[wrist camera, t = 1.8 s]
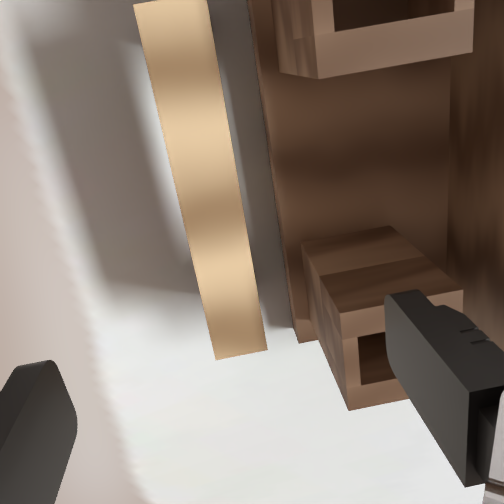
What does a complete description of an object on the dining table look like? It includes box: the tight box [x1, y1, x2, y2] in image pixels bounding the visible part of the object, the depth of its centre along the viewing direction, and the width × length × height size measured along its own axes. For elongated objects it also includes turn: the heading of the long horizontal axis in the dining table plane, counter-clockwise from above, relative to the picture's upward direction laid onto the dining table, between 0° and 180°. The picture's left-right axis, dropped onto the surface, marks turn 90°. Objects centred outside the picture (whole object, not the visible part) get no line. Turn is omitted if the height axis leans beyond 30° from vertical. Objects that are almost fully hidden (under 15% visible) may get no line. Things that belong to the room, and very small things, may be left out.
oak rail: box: [133, 0, 268, 360], centre depth 26 cm, size 18×3×8 cm, turn 9°
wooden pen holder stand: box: [247, 0, 504, 411], centre depth 23 cm, size 26×12×14 cm, turn 9°
